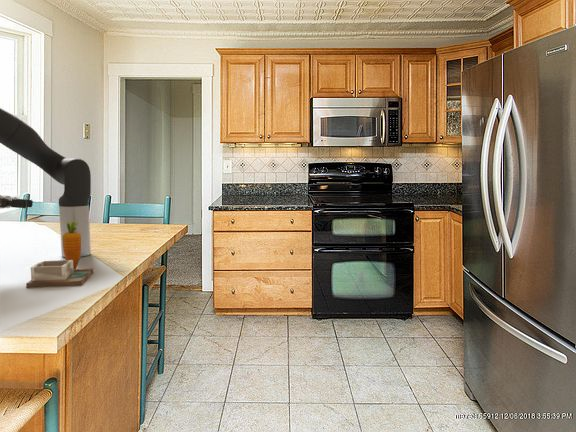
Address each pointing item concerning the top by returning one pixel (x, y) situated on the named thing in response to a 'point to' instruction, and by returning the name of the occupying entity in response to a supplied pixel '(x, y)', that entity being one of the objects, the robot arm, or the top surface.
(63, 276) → the socket board
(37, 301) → the top surface
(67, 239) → the carrot
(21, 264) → the top surface
